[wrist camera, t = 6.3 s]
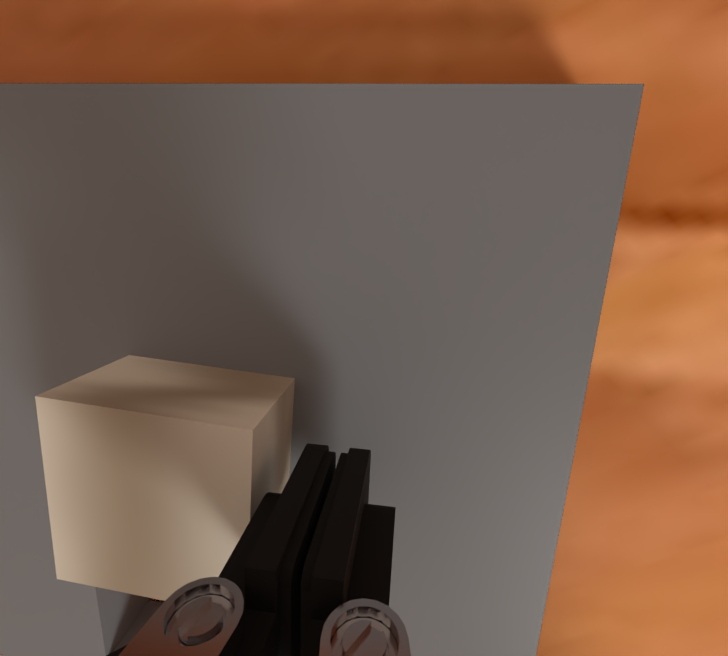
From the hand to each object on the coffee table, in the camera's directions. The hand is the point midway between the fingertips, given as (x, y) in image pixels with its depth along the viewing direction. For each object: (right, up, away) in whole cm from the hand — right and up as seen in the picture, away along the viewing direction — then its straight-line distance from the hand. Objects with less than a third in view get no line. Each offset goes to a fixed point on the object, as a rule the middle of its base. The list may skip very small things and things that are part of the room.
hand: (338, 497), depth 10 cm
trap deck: (-8, +2, +5) cm, 10 cm away
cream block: (-4, +1, +2) cm, 4 cm away
